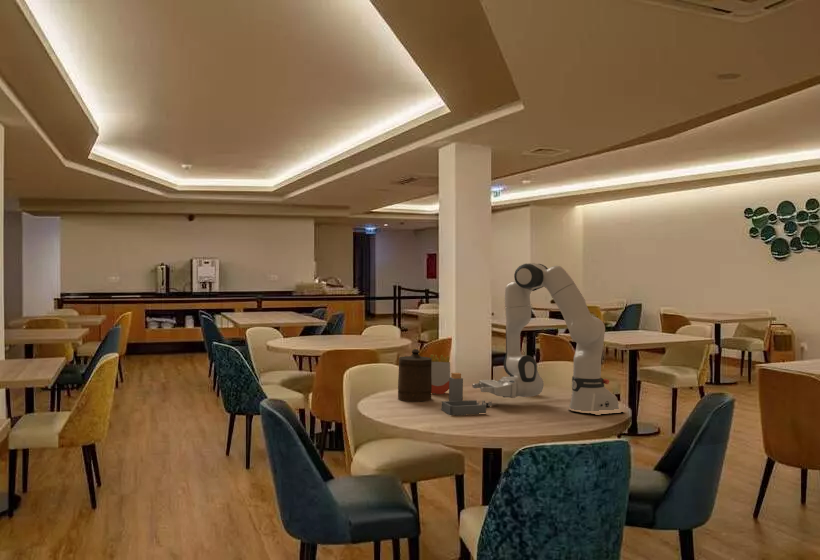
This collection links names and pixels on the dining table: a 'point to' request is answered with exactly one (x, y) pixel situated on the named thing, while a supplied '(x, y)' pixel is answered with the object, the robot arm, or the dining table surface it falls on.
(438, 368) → the french fries container
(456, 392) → the grey corked bottle
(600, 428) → the dining table surface
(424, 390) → the wooden container
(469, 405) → the tray
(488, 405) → the clip
